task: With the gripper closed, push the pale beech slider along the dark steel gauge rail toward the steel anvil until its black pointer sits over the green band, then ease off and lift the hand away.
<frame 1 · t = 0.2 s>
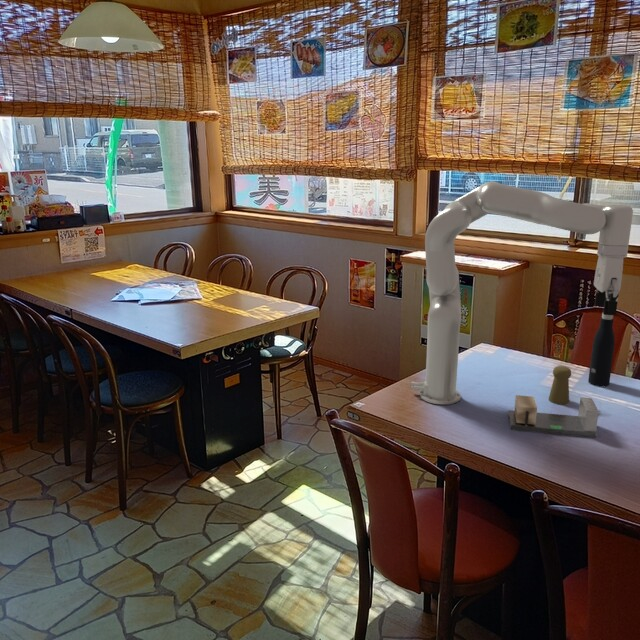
hand: (604, 310, 171), 31 cm above the table, tool pointing down, fingers open, 9 cm apart
black water bottle: (598, 383, 200), on the table
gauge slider: (525, 410, 170), point 4 cm above the table, slide at 0.0 cm
gauge rail: (550, 425, 170), on the table
olive brown pawn: (558, 401, 187), on the table
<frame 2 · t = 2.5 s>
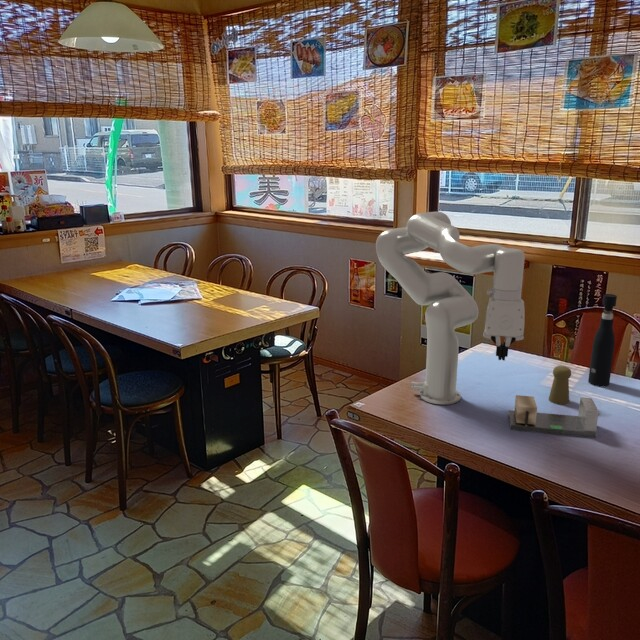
hand: (501, 358, 168), 19 cm above the table, tool pointing down, fingers closed
nothing on the table moved.
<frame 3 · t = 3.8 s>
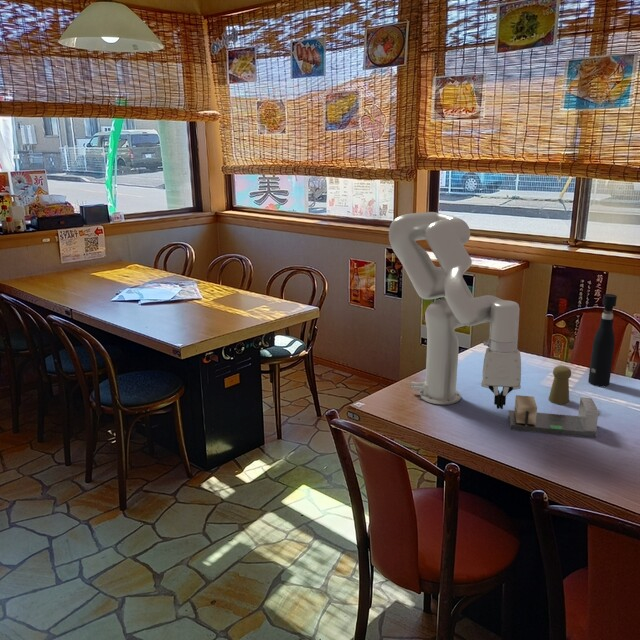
hand: (499, 406, 171), 5 cm above the table, tool pointing down, fingers closed
nothing on the table moved.
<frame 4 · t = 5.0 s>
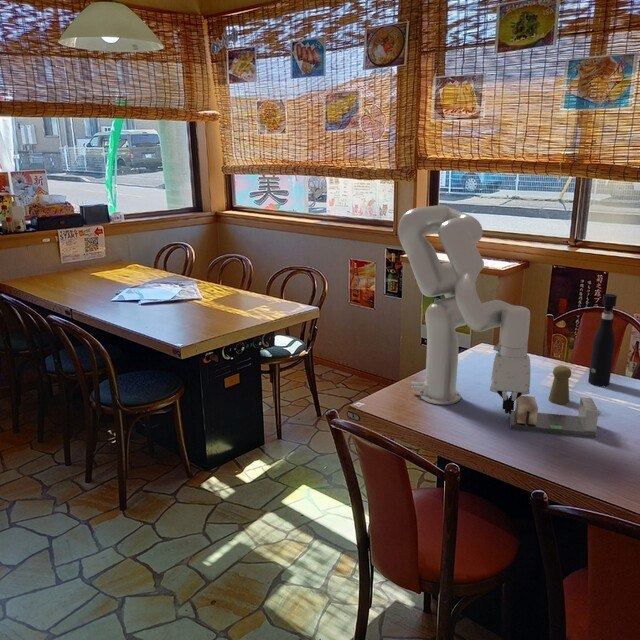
hand: (507, 411, 171), 3 cm above the table, tool pointing down, fingers closed
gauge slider: (526, 410, 170), point 4 cm above the table, slide at 0.2 cm, touching gripper
everything else where it was.
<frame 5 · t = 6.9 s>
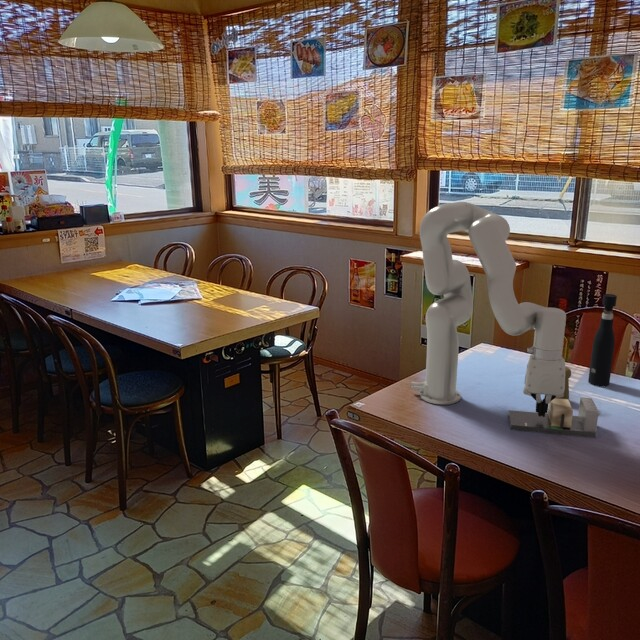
hand: (541, 414, 170), 3 cm above the table, tool pointing down, fingers closed
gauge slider: (560, 413, 168), point 4 cm above the table, slide at 9.2 cm, touching gripper
everything else where it was.
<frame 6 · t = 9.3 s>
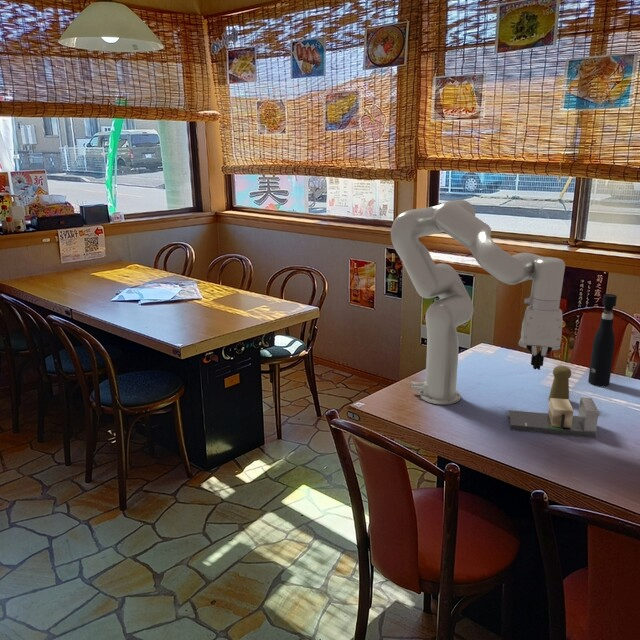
hand: (536, 367, 167), 17 cm above the table, tool pointing down, fingers closed
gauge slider: (560, 413, 168), point 4 cm above the table, slide at 9.3 cm
everything else where it was.
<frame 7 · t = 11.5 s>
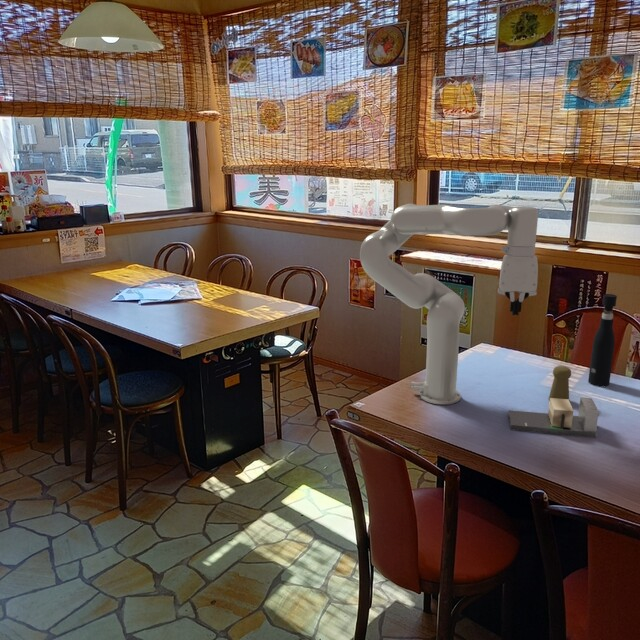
hand: (515, 314, 174), 29 cm above the table, tool pointing down, fingers closed
nothing on the table moved.
at the end: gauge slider slide at 9.3 cm; olive brown pawn moved 0.2 cm from its start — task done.
